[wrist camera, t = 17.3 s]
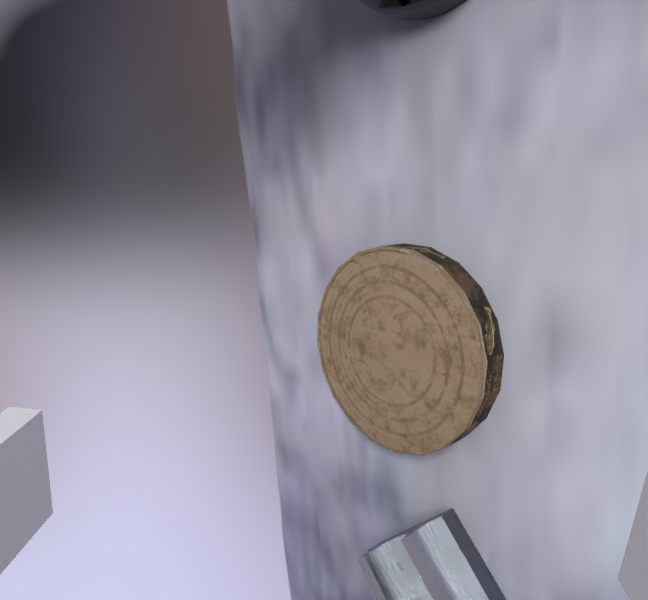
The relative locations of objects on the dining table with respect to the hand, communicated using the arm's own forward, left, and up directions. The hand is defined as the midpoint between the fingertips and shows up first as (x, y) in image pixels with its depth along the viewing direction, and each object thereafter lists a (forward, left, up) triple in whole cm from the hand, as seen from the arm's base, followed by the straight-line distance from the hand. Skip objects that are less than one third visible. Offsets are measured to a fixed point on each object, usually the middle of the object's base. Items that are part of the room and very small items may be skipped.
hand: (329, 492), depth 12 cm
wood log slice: (-8, -16, -26) cm, 32 cm away
